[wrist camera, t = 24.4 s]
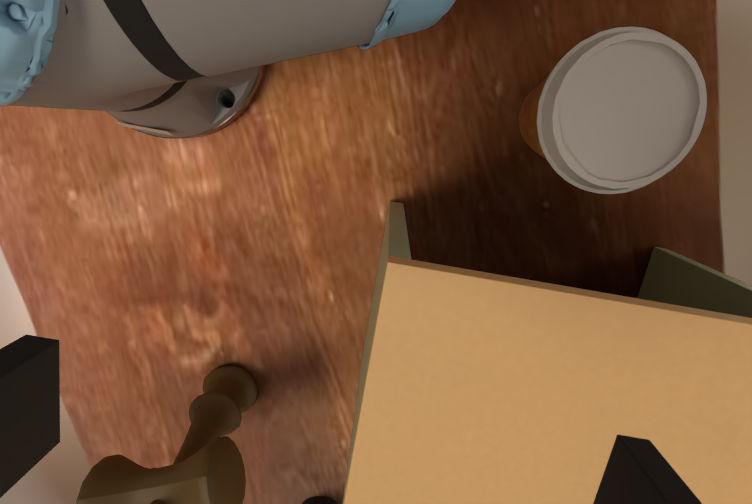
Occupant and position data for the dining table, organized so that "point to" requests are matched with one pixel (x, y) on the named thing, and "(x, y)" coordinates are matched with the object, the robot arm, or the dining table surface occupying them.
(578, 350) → the cabinet
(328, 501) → the drinking cup
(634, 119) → the disposable coffee cup
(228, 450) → the kendama
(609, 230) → the dining table surface
